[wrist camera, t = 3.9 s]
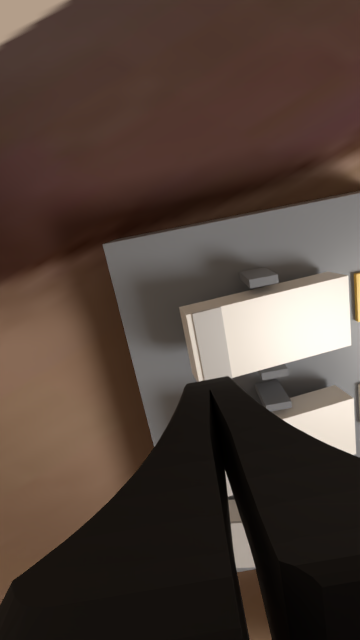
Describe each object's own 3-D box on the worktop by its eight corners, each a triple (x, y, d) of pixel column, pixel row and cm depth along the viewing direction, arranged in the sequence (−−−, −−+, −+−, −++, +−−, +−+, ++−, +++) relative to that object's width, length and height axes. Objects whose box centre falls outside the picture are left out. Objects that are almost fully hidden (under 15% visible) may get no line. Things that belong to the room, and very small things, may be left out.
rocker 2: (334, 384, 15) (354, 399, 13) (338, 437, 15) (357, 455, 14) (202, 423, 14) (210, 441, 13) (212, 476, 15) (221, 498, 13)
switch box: (371, 188, 15) (457, 175, 11) (378, 497, 21) (438, 578, 16) (115, 239, 16) (92, 248, 11) (185, 530, 21) (189, 618, 16)
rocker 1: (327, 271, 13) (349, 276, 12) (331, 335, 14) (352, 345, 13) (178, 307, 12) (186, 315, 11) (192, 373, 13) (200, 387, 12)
